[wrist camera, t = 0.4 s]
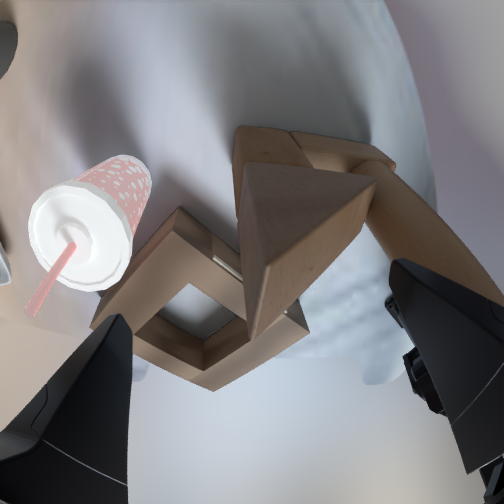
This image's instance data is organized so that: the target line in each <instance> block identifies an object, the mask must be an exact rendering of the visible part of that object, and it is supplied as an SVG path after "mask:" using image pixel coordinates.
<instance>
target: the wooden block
mask: <svg viewBox="0 0 504 504" xmlns="http://www.w3.org/2000/svg"><path fill="white" fill-rule="evenodd" d="M395 168H396V163H395V162H394V161H393V160H392V159H390V158H389V157H388V156H387V155H385V154H384V153H383V152H381V151H380V150H379V149H377V148H376V147H375V146H372V145H367V144H363V143H358V142H353V141H348V140H343V139H338V138H333V137H327V136H321V135H315V134H309V133H302V132H295V131H292V132H290V133H289V134H288V132H287V131H285V130H280V129H272V128H262V127H252V126H239V127H238V128H237V129H236V135H235V145H234V155H233V165H232V173H233V184H234V196H235V207H236V217H237V219H238V223H237V226H238V237H239V247H240V258H241V268H242V279H243V289H244V299H245V309H246V319H247V328H248V338H249V339H250V340H254V339H256V338H257V337H258V336H259V335H260V334H261V333H262V332H264V331H265V330H266V329H267V328H268V327H269V326H270V325H271V324H272V323H273V322H274V321H275V320H276V319H277V318H278V317H279V316H280V315H281V314H282V313H283V312H284V311H285V310H286V309H287V308H288V307H289V306H290V305H291V304H292V303H293V302H294V301H295V300H296V299H297V298H298V297H299V296H300V295H301V294H302V293H303V292H304V291H305V290H306V289H307V288H308V287H309V286H310V285H311V284H312V283H313V282H314V281H315V280H316V279H317V278H318V277H319V276H320V275H321V274H322V273H323V272H324V271H325V270H326V269H327V268H328V267H329V266H330V264H331V263H332V262H333V261H334V260H335V259H336V258H337V257H338V256H339V255H340V254H341V253H342V252H343V251H344V249H345V248H346V247H347V246H348V245H349V244H350V243H351V242H352V241H353V240H354V239H355V237H356V236H357V235H358V234H359V233H360V231H361V229H362V226H363V223H364V222H365V224H366V225H367V226H368V228H369V229H370V231H371V232H372V234H373V235H374V237H375V238H376V240H377V241H378V243H379V244H380V246H381V248H382V249H383V251H384V252H385V254H386V255H387V257H388V259H389V260H390V262H392V260H394V259H397V258H401V257H404V258H406V259H409V260H411V261H413V262H415V263H417V264H419V265H422V266H424V267H426V268H428V269H430V270H432V271H434V272H436V273H438V274H441V275H443V276H445V277H447V278H449V279H451V280H453V281H455V282H457V283H459V284H461V285H463V286H465V287H467V288H469V289H471V290H473V291H475V292H477V293H479V294H481V295H482V296H484V297H486V298H487V299H490V300H492V301H494V302H496V303H498V304H500V305H502V306H504V295H503V294H502V292H501V291H500V289H499V288H498V287H497V285H496V284H495V282H494V281H493V280H492V279H491V277H490V276H489V274H488V273H487V272H486V270H485V269H484V268H483V266H482V265H481V264H480V263H479V262H478V260H477V259H476V258H475V256H474V255H473V254H472V253H471V251H470V250H469V249H468V248H467V247H466V245H465V244H464V243H463V242H462V241H461V240H460V238H459V237H458V236H457V235H456V234H455V233H454V232H453V230H452V229H451V228H450V227H449V226H448V225H447V224H446V223H445V222H444V221H443V219H442V218H441V217H440V216H439V215H438V214H437V213H436V212H435V211H434V210H433V209H432V208H431V207H430V206H429V205H428V204H427V203H426V202H425V201H424V200H423V199H422V198H421V197H420V196H419V195H418V194H417V193H416V192H415V191H414V190H413V189H412V188H411V187H410V186H408V185H407V184H406V183H405V182H404V181H403V180H402V179H401V178H400V177H399V176H398V175H396V174H395V173H394V171H395Z"/></svg>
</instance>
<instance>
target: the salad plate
mask: <svg viewBox="0 0 504 504" xmlns="http://www.w3.org/2000/svg"><path fill="white" fill-rule="evenodd" d="M11 279H12V276H11V267H10V264H9V261H8V258H7V256H6V253H5V251H4V249H3V247H2V244H1V242H0V285H6V284H9V283H10V282H11Z"/></svg>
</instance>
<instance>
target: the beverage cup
mask: <svg viewBox="0 0 504 504" xmlns="http://www.w3.org/2000/svg"><path fill="white" fill-rule="evenodd" d="M151 187H152V180H151V176H150V172H149V170H148V169H147V168H146V166H145V165H144V164H143V162H141V161H140V160H138V159H137V158H135V157H133V156H129V155H118V156H115V157H111V158H109V159H107V160H105V161H104V162H102V163H100V164H98V165H96V166H94V167H93V168H91V169H89V170H87V171H86V172H84V173H82V174H80V175H79V176H77V177H75V178H74V179H72V180H69V181H66V182H63V183H60V184H58V185H55V186H52V187H51V188H50V189H48V190H46V191H45V192H44V193H43V194H42V195H41V196H40V198H39V199H38V200H37V201H36V202H35V203H34V205H33V206H32V210H31V214H30V218H29V222H28V229H29V237H30V244H31V246H32V248H33V250H34V252H35V255H36V257H37V259H38V261H39V262H40V264H41V265H42V266H43V267H44V268H45V269H46V270H47V271H48V273H47V275H46V276H45V278H44V279H43V281H42V282H41V284H40V285H39V287H38V288H37V290H36V291H35V293H34V295H33V296H32V298H31V299H30V301H29V303H28V304H27V306H26V308H25V309H24V312H25V314H26V315H27V316H28V317H29V318H33V317H34V316H35V314H36V312H37V310H38V309H39V307H40V305H41V303H42V302H43V300H44V298H45V296H46V295H47V293H48V291H49V290H50V288H51V287H52V285H53V283H54V282H55V280H56V279H57V280H58V281H60V282H61V283H63V284H65V285H66V286H68V287H70V288H74V289H78V290H82V291H87V292H91V291H98V290H106V289H107V288H109V287H110V286H112V285H113V284H115V283H116V282H118V281H119V280H120V279H121V277H122V275H123V274H124V272H125V270H126V268H127V266H128V264H129V262H130V258H131V256H132V242H133V237H134V234H135V231H136V229H137V226H138V224H139V221H140V218H141V216H142V213H143V211H144V208H145V206H146V203H147V201H148V198H149V196H150V194H151Z"/></svg>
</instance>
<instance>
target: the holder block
mask: <svg viewBox="0 0 504 504" xmlns="http://www.w3.org/2000/svg"><path fill="white" fill-rule="evenodd" d="M188 283H190V284H192V285H193V286H195V287H196V288H198V289H199V290H201V291H202V292H203V293H205V294H206V295H208V296H209V297H211V298H212V299H214V300H215V301H217V302H218V303H220V304H221V305H223V306H224V307H226V308H227V309H229V310H230V311H232V312H233V313H235V314H237V315H238V316H237V317H236V318H235V319H233V320H232V321H231V322H229V323H228V324H227V325H225V326H224V327H223V328H221V329H220V330H219V331H217V332H216V333H214V334H213V335H212V336H210V337H209V338H208V339H206V340H205V341H204V342H203V341H202V340H200V339H198V338H196V337H195V336H193V335H191V334H189V333H188V332H186V331H184V330H182V329H181V328H179V327H177V326H176V325H174V324H172V323H171V322H169V321H167V320H166V319H164V318H162V317H161V316H159V315H158V314H156V313H157V312H158V311H159V310H160V309H161V308H162V307H163V306H164V305H165V304H166V303H168V302H169V301H170V300H171V299H172V298H173V297H174V296H175V295H176V294H177V293H178V292H179V291H180V290H181V289H183V288H184V287H185V286H186V285H187V284H188ZM115 313H120V314H122V315H123V317H124V318H125V320H126V322H127V323H128V325H129V327H130V328H131V330H132V333H133V354H135V355H137V356H139V357H141V358H143V359H144V360H146V361H148V362H150V363H152V364H154V365H156V366H158V367H160V368H162V369H164V370H166V371H168V372H170V373H173V374H174V375H177V376H179V377H181V378H183V379H185V380H187V381H190V382H192V383H194V384H196V385H199V386H201V387H203V388H206V389H208V390H211V391H213V392H214V391H216V390H218V389H220V388H222V387H223V386H225V385H227V384H229V383H231V382H232V381H234V380H236V379H238V378H239V377H241V376H243V375H244V374H246V373H248V372H249V371H251V370H253V369H254V368H256V367H258V366H259V365H261V364H263V363H264V362H266V361H267V360H269V359H271V358H272V357H274V356H276V355H277V354H279V353H280V352H282V351H283V350H285V349H286V348H288V347H290V346H291V345H293V344H294V343H296V342H297V341H299V340H300V339H302V338H303V337H305V336H306V335H308V334H309V333H310V331H309V328H308V326H307V323H306V320H305V317H304V314H303V311H302V308H301V305H300V303H299V302H298V301H296V300H295V301H294V302H293V303H292V304H291V305H290V306H289V307H288V308H287V309H286V310H285V311H284V312H283V313H282V314H281V315H280V316H279V317H278V318H277V319H276V320H275V321H274V322H273V323H272V324H271V325H270V326H269V327H268V328H267V329H266V330H265V331H264V332H262V333H261V334H260V335H259V336H258V337H257V338H256V339H254V340H250V339H249V338H248V328H247V319H246V309H245V299H244V289H243V279H242V268H241V258H240V255H239V254H238V253H237V252H235V251H234V250H233V249H232V248H230V247H229V246H228V245H227V244H225V243H224V242H223V241H222V240H221V239H219V238H218V237H217V236H216V235H214V234H213V233H212V232H211V231H209V230H208V229H207V228H206V227H205V226H203V225H202V224H201V223H200V222H198V221H197V220H196V219H195V218H194V217H192V216H191V215H190V214H189V213H187V212H186V211H185V210H184V209H183V208H181V207H180V206H179V207H178V208H177V209H176V210H175V211H174V212H173V213H172V214H171V215H170V217H169V218H168V219H167V220H166V221H165V222H164V223H163V224H162V225H161V227H160V228H159V229H158V230H157V231H156V232H155V233H154V234H153V236H152V237H151V238H150V239H149V240H148V241H147V243H146V244H145V245H144V246H143V247H142V248H141V250H140V251H139V252H138V253H137V254H136V256H135V257H134V258H133V259H132V260H131V262H130V263H129V264H128V266H127V268H126V270H125V272H124V274H123V275H122V277H121V279H120V280H119V281H118V282H116V283H115V284H113V285H112V286H110V288H109V289H108V290H107V292H106V293H105V294H104V295H103V297H102V298H101V300H100V302H99V305H98V307H97V310H96V312H95V315H94V317H93V320H92V322H91V325H90V327H89V328H91V329H92V330H95V329H96V328H97V327H98V326H99V325H100V324H101V322H102V321H103V320H104V319H105V318H106V317H107V316H108V315H110V314H115Z"/></svg>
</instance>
